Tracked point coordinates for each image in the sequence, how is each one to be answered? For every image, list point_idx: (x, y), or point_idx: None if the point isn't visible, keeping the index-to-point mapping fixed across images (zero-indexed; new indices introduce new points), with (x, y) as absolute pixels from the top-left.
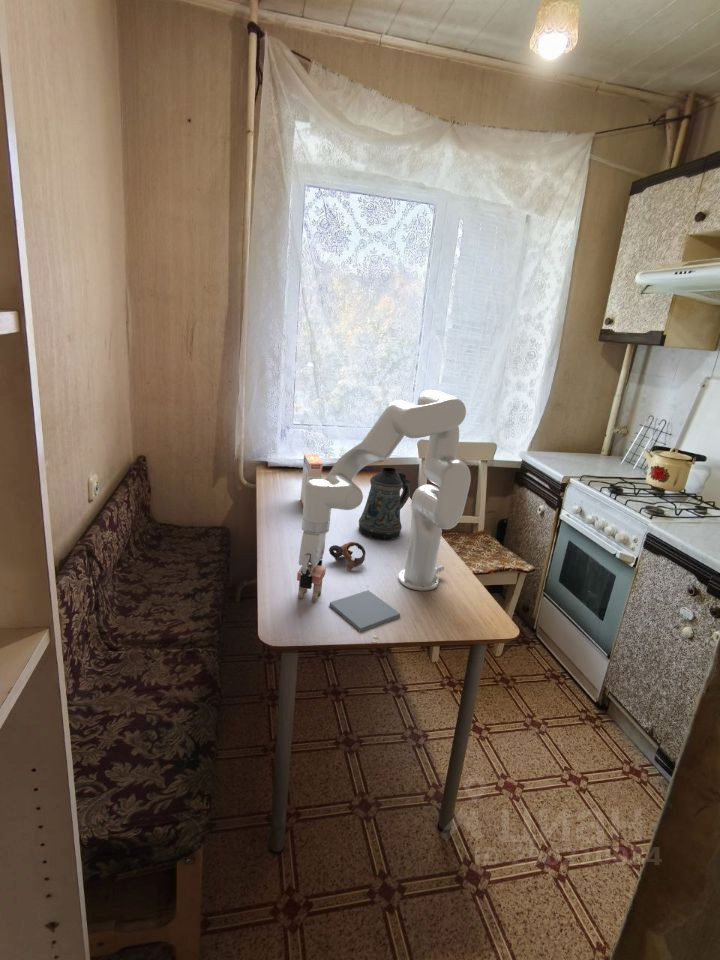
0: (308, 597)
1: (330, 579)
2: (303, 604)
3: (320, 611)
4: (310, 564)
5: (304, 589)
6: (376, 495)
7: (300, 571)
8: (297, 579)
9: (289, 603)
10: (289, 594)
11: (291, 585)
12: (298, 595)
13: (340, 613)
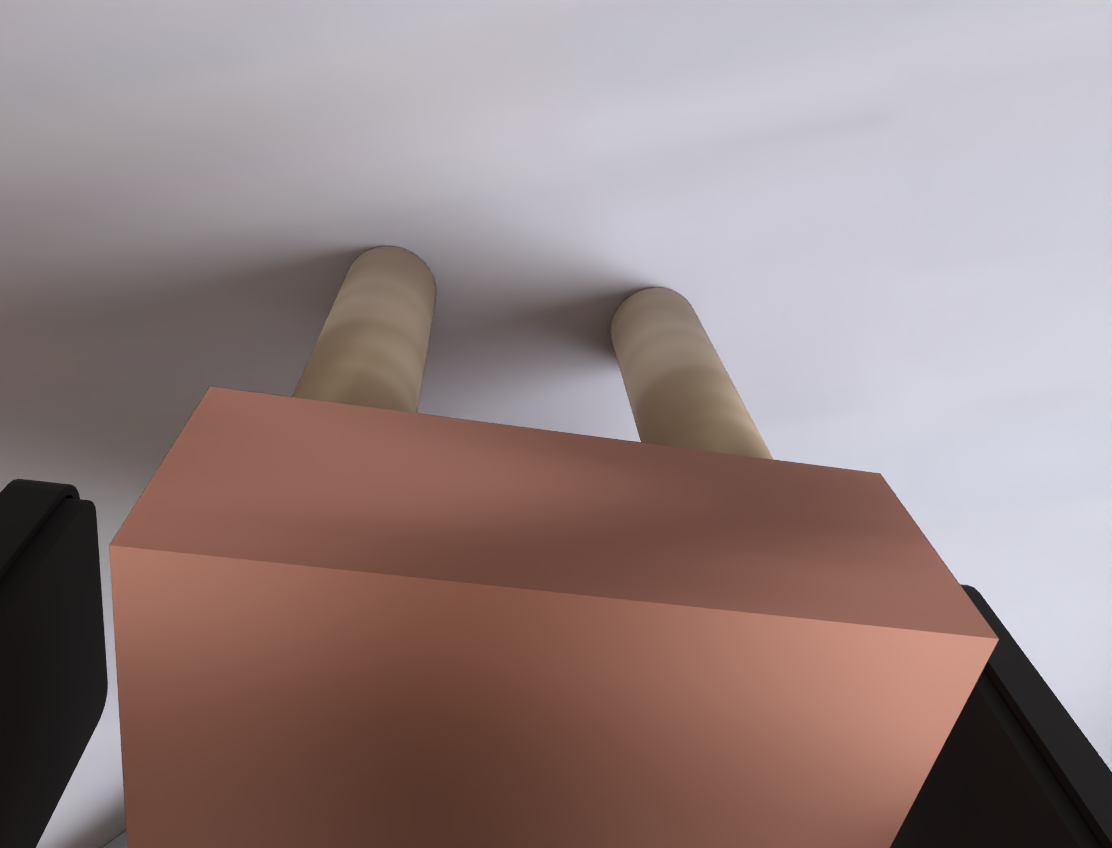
0: (447, 413)
1: (1040, 634)
2: (199, 369)
3: (107, 619)
4: (857, 810)
5: (615, 344)
6: None
7: (247, 625)
8: (203, 413)
9: (129, 116)
10: (462, 58)
11: (825, 39)
12: (351, 275)
13: None
